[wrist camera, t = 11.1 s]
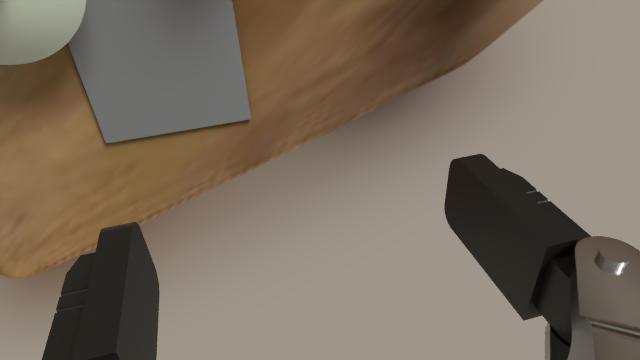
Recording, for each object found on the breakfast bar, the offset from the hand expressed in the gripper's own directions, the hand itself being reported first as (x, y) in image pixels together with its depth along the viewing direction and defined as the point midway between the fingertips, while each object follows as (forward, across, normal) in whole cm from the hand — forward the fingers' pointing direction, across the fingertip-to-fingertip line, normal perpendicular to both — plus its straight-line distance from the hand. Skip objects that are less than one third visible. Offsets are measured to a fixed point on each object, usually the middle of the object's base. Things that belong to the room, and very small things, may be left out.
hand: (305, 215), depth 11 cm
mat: (+33, +6, +6) cm, 34 cm away
